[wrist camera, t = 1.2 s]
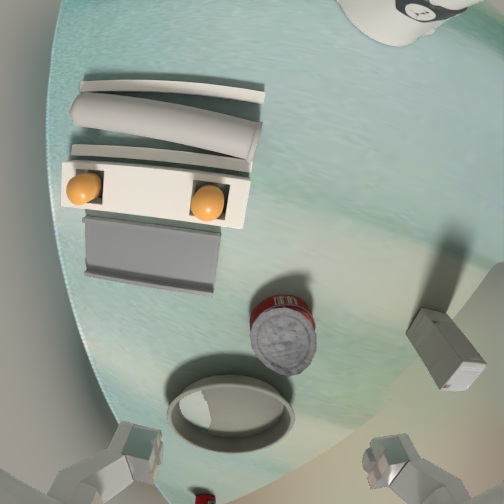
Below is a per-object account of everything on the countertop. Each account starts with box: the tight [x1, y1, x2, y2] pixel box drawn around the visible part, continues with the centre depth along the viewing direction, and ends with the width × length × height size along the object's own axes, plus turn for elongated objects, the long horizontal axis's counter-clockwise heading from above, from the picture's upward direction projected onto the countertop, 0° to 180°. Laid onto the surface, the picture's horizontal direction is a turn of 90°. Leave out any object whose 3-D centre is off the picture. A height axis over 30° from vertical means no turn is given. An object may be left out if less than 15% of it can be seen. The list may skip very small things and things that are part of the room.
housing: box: [61, 80, 265, 229], centre depth 34 cm, size 17×25×4 cm
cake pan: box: [167, 374, 295, 454], centre depth 51 cm, size 25×25×4 cm
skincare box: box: [406, 308, 487, 392], centre depth 41 cm, size 8×7×16 cm
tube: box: [69, 92, 263, 163], centre depth 32 cm, size 5×5×25 cm
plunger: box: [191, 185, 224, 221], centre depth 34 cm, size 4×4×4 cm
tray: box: [82, 216, 221, 297], centre depth 40 cm, size 9×20×2 cm, turn 80°
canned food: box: [250, 295, 316, 376], centre depth 43 cm, size 11×10×10 cm
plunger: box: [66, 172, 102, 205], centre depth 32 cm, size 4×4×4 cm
